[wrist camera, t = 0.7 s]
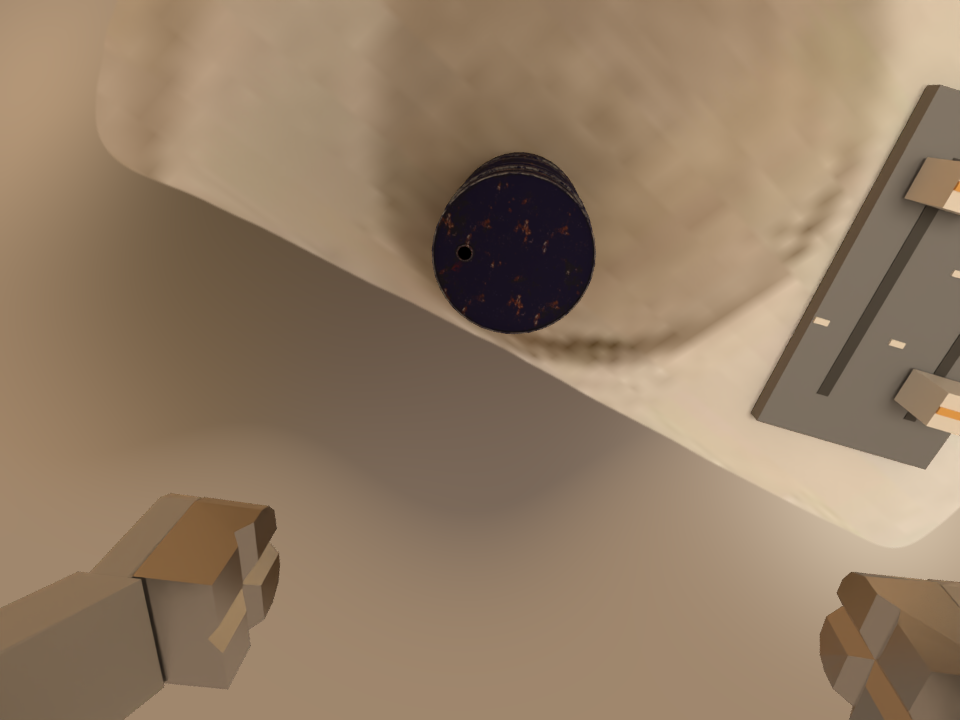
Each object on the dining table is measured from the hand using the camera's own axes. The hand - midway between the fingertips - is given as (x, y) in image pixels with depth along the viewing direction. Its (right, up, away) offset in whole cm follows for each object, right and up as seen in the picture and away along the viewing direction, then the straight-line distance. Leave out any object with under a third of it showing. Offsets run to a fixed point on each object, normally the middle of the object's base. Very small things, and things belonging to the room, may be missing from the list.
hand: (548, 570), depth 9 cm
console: (+35, +8, +40) cm, 54 cm away
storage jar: (+2, +15, +40) cm, 43 cm away
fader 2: (+37, 0, +41) cm, 55 cm away
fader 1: (+33, +16, +35) cm, 51 cm away
